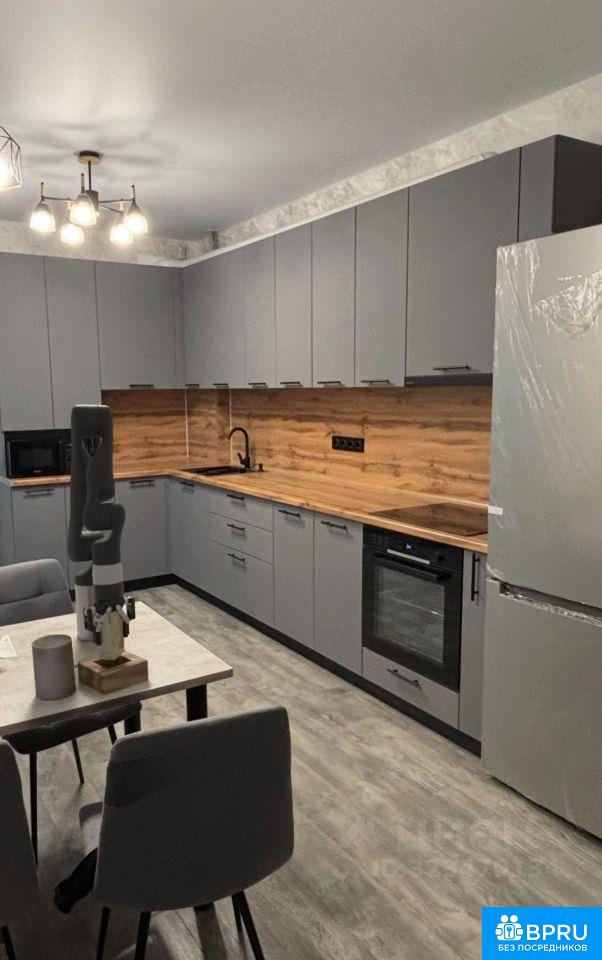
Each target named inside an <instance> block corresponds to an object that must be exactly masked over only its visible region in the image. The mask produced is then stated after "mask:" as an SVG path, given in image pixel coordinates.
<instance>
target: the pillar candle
mask: <svg viewBox="0 0 602 960" xmlns="http://www.w3.org/2000/svg"><path fill="white" fill-rule="evenodd" d="M30 645H31V653H32V654H31V655H32V663H33V664H32V665H33V676H34V677H33V678H34V688H35V697H36V696H37V697H38V698H37V697H36V698H37V699H39V698H40V699H39V700H42V699H47V700H49V701H54V699H57V700H60V699H64V698H66V697H69V696H71V695H72V694H73V693H75V691H76V690H77V687H76V685H77V684H76V675H75V674H76V672H75V662H74V652H73V651H74V650H73V640H72V637H71V636H70V635H69V634H68V635H67V634H62V633H61V634H60V633H58V634H49V635H44V636H41V637H38V638H36V639H34V640H33V641H32V642H31V644H30Z"/></svg>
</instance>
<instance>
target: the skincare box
mask: <svg viewBox="0 0 602 960" xmlns="http://www.w3.org/2000/svg"><path fill="white" fill-rule="evenodd" d="M101 617H102V615H100V614H99V613H98V619H101ZM105 618H106V621H105V623H104V624H103V625H102V627H101V629H100V632H101V643H102V644H101V645H100V646H98V647H99V648H98V649H99V651H98V653H99V655H100V659H109V660H115V659H116V658H118V657H119V656H120V655H121V654H123V653H124V652H125V637H124V630H123V619H122V618H121V616H120V614H119V612H118V611H113V612H110V613H108V614H105Z"/></svg>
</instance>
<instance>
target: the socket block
mask: <svg viewBox="0 0 602 960" xmlns="http://www.w3.org/2000/svg"><path fill="white" fill-rule="evenodd" d="M148 662H149V661H148V659H145V658H144V657H141V656H139V655H137V654H134V653H132V652H130V651H128V650H125V652H124V653H123V654H121V655H120V656H119V657H118V658H116V659H115V660H109V659H100V654H99V655H94V656H92V657H88V658H86V659H82V660H80V661H77V663H76V664H77V675H78V676H77V677H78V683H81V684H82V685H85V686H87V687H89V688H90V689H92V690H94V691H95V692H98V693H99V694H101V695H103V696H107V695H109V694H112V693H115V692H118V691H121V690H124V689H126V688H129V687H132V686H134V685H137V684H140V683H143V682H145V681H148V680H149V663H148Z"/></svg>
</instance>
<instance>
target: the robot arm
mask: <svg viewBox="0 0 602 960" xmlns="http://www.w3.org/2000/svg"><path fill="white" fill-rule="evenodd" d="M70 434H71V435H70V437H71V439H70V440H71V441H70V442H71V464H70V465H71V466H70V467H71V468H70V479H69V480H70V482H69V483H70V484H69V508H70V509H69V523H68V524H69V525H68V533H67V539H66V540H67V543H66V545H67V546H66V548H67V549H66V550H67V556H68V559H69V560H70V561H71V562H73V563H83V562H90V561H92V562H91V563H90V564H89V565H88V566H86V567H85V568H83V569H82V570H80V571H78V572H77V573H75V574H74V589H75V592H74V593H75V615H76V616H75V617H76V631H77V638H78V639H79V640H82V641H89V642H90V641H92V642H93V644H94V645H96V647H97V646H98V647H99V646H100V645H101V644H102V643H101V632H100V629H101V627H102V625H103V624H104V623H105V621H106V618H105V614H108V613H110V612H113V611H118V612H119V614H120V616H121V618H122V619H123V630H124V639H125V638H128V637H129V635H130V622H131V621H133V620H135V619H136V599H135V597H134V596H130V595H127V596H126V597H125V598H124V594H125V593H124V592H125V590H124V588H125V587H124V575H123V571H124V570H123V566H122V557H121V543H122V542H121V541H122V540H121V539H122V534H123V530H124V527H125V522H126V509H125V507H124V506H123V505H122V503H120V502H118V501H117V502H108V501H110V500H112V499H113V498H114V497H115V495H116V486H115V477H114V470H113V469H114V464H113V462H114V461H113V460H114V459H113V458H114V456H113V455H114V417H113V413H112V410H111V408H110V406H108V405H105V404H104V405H103V404H76V405H74V406H73V407H72V410H71V413H70ZM84 439H101V442H100V446H99V447H98V449H97V450H96V452H95V454H94V455H93V456H92V457H91V455H90V454H89V452H88V450H87V448H86V446H85V442H84ZM84 528H85V529H86V530H83V529H84ZM102 531H111V532H110V533H109V534H108V536H106V537H105V535H104V533H103V532H102ZM124 606H125V608H126V609H125V610H126V612H125V611H124V610H123V608H124ZM98 613H99V614H100V615H102V617H101V619H98Z"/></svg>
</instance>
